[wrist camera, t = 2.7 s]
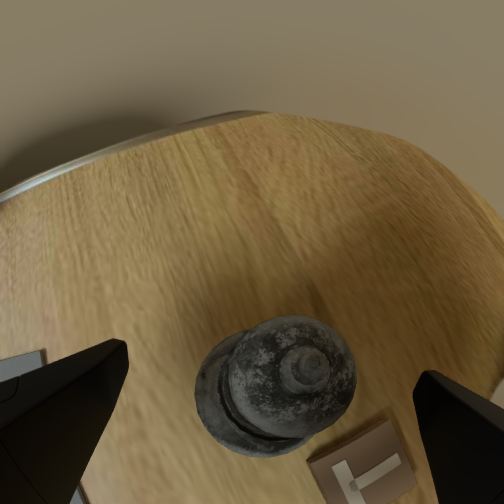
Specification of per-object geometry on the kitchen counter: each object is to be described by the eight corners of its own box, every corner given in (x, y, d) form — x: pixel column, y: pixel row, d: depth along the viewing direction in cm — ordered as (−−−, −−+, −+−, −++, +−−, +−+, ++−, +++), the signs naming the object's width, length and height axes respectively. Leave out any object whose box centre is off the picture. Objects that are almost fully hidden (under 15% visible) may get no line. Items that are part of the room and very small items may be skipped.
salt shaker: (252, 323, 17) (285, 168, 7) (332, 388, 15) (489, 327, 5) (179, 398, 15) (68, 363, 4) (263, 468, 13) (329, 575, 3)
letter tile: (405, 480, 13) (418, 483, 11) (334, 522, 11) (343, 530, 10) (378, 419, 15) (391, 418, 13) (303, 459, 14) (310, 464, 12)
